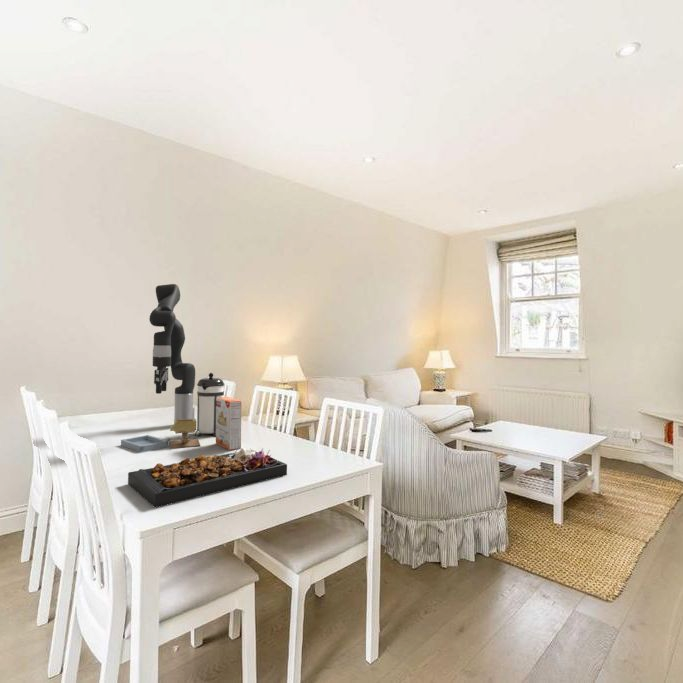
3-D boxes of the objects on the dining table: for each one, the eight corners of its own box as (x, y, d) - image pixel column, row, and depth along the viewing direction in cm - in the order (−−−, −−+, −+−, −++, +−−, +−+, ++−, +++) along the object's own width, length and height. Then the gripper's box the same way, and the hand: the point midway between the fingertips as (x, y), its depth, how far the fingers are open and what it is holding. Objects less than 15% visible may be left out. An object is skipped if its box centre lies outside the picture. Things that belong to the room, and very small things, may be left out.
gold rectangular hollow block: (195, 427, 193) (195, 418, 193) (196, 430, 187) (196, 421, 187) (170, 429, 189) (170, 420, 189) (170, 431, 183) (170, 422, 183)
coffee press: (232, 435, 207) (233, 373, 207) (199, 439, 198) (200, 374, 198) (220, 428, 222) (221, 370, 221) (189, 431, 213) (190, 371, 212)
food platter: (250, 460, 168) (251, 434, 168) (286, 476, 150) (287, 447, 150) (127, 486, 137) (128, 454, 137) (154, 510, 119) (155, 473, 119)
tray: (120, 445, 184) (120, 439, 184) (147, 440, 194) (147, 435, 194) (141, 452, 174) (141, 446, 174) (168, 446, 184) (168, 441, 184)
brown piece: (197, 439, 196) (198, 425, 196) (200, 446, 185) (200, 431, 185) (169, 442, 192) (170, 427, 192) (170, 448, 181) (170, 433, 181)
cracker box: (214, 444, 190) (215, 397, 190) (227, 442, 194) (228, 396, 193) (228, 450, 179) (228, 401, 179) (241, 448, 183) (242, 400, 183)
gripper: (157, 355, 195) (156, 390, 195) (148, 356, 181) (147, 394, 181) (174, 355, 196) (173, 390, 196) (166, 356, 182) (166, 394, 182)
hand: (161, 392), depth 189 cm, fingers open, 8 cm apart
